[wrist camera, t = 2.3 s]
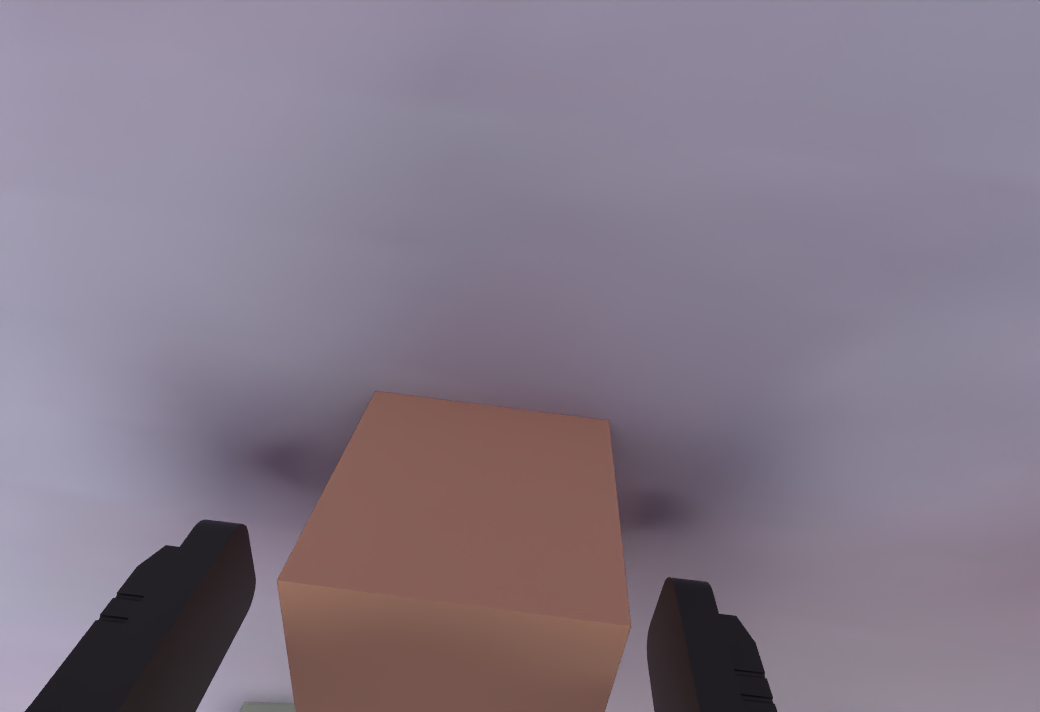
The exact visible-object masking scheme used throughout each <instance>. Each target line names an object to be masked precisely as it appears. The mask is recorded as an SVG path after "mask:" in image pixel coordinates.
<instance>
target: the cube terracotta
mask: <svg viewBox="0 0 1040 712" xmlns="http://www.w3.org/2000/svg"><path fill="white" fill-rule="evenodd" d="M277 585H278V592H279V599H280V606H281V613H282V620H283V627H284V634H285V641H286V648H287V655H288V662H289V669H290V676H291V683H292V690H293V697H294V704H295V711H296V712H605V709H606V706H607V703H608V699H609V696H610V693H611V690H612V687H613V683H614V680H615V677H616V674H617V670H618V667H619V664H620V661H621V658H622V654H623V651H624V648H625V645H626V642H627V638H628V635H629V632H630V629H631V620H630V611H629V601H628V592H627V583H626V573H625V564H624V555H623V546H622V536H621V527H620V518H619V508H618V499H617V490H616V480H615V471H614V462H613V453H612V443H611V434H610V425H609V421H608V420H600V419H592V418H584V417H577V416H569V415H561V414H553V413H545V412H537V411H529V410H521V409H513V408H505V407H497V406H489V405H481V404H474V403H466V402H458V401H450V400H442V399H434V398H426V397H418V396H410V395H402V394H394V393H386V392H378V391H375V393H374V395H373V397H372V398H371V400H370V402H369V404H368V406H367V408H366V410H365V412H364V414H363V416H362V418H361V420H360V422H359V423H358V425H357V427H356V429H355V431H354V433H353V435H352V437H351V439H350V441H349V443H348V445H347V447H346V448H345V450H344V452H343V454H342V456H341V458H340V460H339V462H338V464H337V466H336V468H335V470H334V472H333V473H332V475H331V477H330V479H329V481H328V483H327V485H326V487H325V489H324V491H323V493H322V495H321V497H320V498H319V500H318V502H317V504H316V506H315V508H314V510H313V512H312V514H311V516H310V518H309V520H308V522H307V523H306V525H305V527H304V529H303V531H302V533H301V535H300V537H299V539H298V541H297V543H296V545H295V547H294V548H293V550H292V552H291V554H290V556H289V558H288V560H287V562H286V564H285V566H284V568H283V570H282V572H281V573H280V575H279V577H278V579H277Z"/></svg>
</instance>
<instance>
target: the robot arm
mask: <svg viewBox="0 0 1040 712" xmlns="http://www.w3.org/2000/svg"><path fill="white" fill-rule="evenodd" d="M255 584H256V577H255V571H254V565H253V559H252V553H251V547H250V541H249V535H248V530H247V527H246V526H245V525H244V524H237V523H229V522H221V521H212V520H202V521H200V522H199V523H197V524H196V525H195V527H194V528H193V529H192V531H191V532H190V533H189V535H188V536H187V538H186V539H185V540H184V542H183V543H182V545H181V546H180V547H176V546H168V545H166V546H164V547H163V548H162V549H160V550H159V551H158V552H156V553H155V554H153V555H152V556H151V557H149V558H148V559H147V560H145V561H144V562H143V563H141V564H140V565H139V566H137V568H136V569H135V570H134V571H133V573H132V574H131V575H130V577H129V578H128V579H127V580H126V582H125V583H124V584H123V586H122V587H121V588H120V590H119V591H118V592H117V596H116V598H113V599H112V600H111V601H110V602H109V604H108V605H107V606H106V608H105V609H104V610H103V612H102V613H101V614H100V618H99V620H96V621H95V622H94V623H93V625H92V626H91V627H90V628H89V630H88V631H87V632H86V634H85V635H84V636H83V637H82V639H81V640H80V641H79V643H78V644H77V645H76V647H75V648H74V649H73V650H72V652H71V653H70V654H69V656H68V657H67V658H66V660H65V661H64V662H63V663H62V665H61V666H60V667H59V669H58V670H57V671H56V672H55V674H54V675H53V676H52V678H51V679H50V680H49V682H48V683H47V684H46V685H45V687H44V688H43V689H42V691H41V692H40V693H39V694H38V696H37V697H36V698H35V700H34V701H33V702H32V704H31V705H30V706H29V707H28V708H27V709H26V711H25V712H196V710H197V708H198V706H199V704H200V702H201V700H202V698H203V696H204V694H205V693H206V691H207V689H208V687H209V685H210V683H211V681H212V679H213V677H214V675H215V673H216V672H217V670H218V668H219V666H220V664H221V662H222V660H223V658H224V656H225V654H226V653H227V651H228V649H229V647H230V645H231V643H232V641H233V639H234V637H235V635H236V633H237V632H238V630H239V628H240V626H241V624H242V622H243V620H244V618H245V616H246V614H247V612H248V610H249V608H250V606H251V603H252V600H253V596H254V591H255ZM647 660H648V668H649V675H650V683H651V690H652V697H653V704H654V711H655V712H777V709H776V706H775V704H773V701H772V699H773V697H772V693H771V690H770V687H769V684H768V681H767V679H765V671H764V668H763V665H762V662H761V659H760V656H759V652H758V649H757V646H756V643H755V642H754V640H753V639H752V637H751V636H750V635H749V633H748V632H747V630H746V629H745V628H744V626H743V625H742V623H741V622H740V621H739V619H738V618H737V616H733V615H724V614H719V613H718V609H717V605H716V602H715V598H714V594H713V591H712V588H711V586H710V584H709V583H708V582H703V581H695V580H687V579H678V578H670V577H668V578H667V579H666V580H665V582H664V585H663V588H662V591H661V594H660V597H659V600H658V603H657V606H656V609H655V612H654V614H653V617H652V620H651V623H650V627H649V631H648V638H647Z"/></svg>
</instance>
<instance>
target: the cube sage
mask: <svg viewBox="0 0 1040 712" xmlns="http://www.w3.org/2000/svg"><path fill="white" fill-rule="evenodd" d="M240 712H296V711H295V704H288V703H250V702H244V704H243V706H242V708H241V711H240Z"/></svg>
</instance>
